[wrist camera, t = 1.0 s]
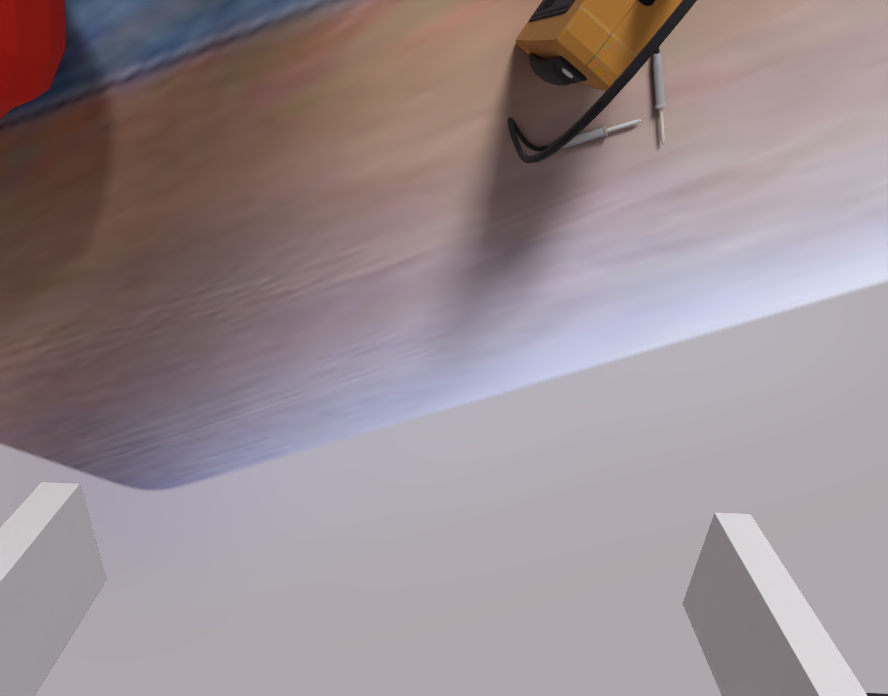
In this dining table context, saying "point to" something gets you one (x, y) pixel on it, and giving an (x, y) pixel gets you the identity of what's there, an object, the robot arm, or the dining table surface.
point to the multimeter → (596, 54)
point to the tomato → (29, 49)
